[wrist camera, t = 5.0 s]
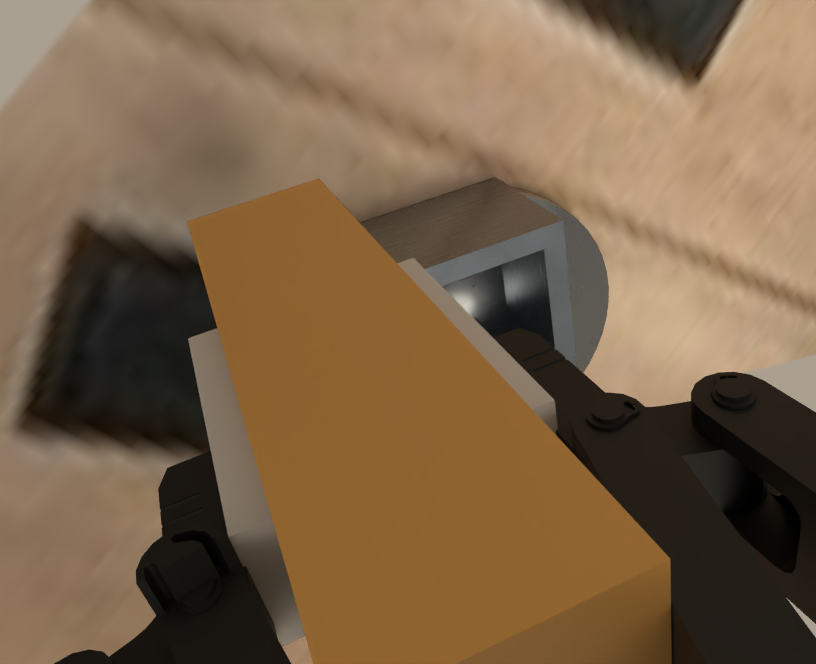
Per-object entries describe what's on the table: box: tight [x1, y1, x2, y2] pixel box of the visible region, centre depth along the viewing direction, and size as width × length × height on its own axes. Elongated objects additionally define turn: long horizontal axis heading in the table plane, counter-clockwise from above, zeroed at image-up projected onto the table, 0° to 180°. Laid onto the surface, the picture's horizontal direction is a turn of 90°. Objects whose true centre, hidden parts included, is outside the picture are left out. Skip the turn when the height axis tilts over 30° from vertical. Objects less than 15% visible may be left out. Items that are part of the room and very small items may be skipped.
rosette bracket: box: [360, 177, 609, 373], centre depth 34 cm, size 15×15×11 cm
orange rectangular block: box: [187, 179, 672, 664], centre depth 15 cm, size 4×4×16 cm
